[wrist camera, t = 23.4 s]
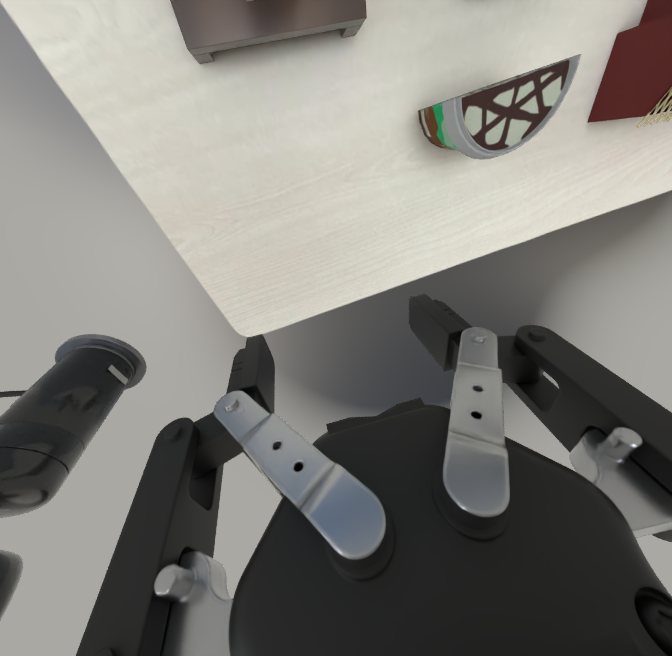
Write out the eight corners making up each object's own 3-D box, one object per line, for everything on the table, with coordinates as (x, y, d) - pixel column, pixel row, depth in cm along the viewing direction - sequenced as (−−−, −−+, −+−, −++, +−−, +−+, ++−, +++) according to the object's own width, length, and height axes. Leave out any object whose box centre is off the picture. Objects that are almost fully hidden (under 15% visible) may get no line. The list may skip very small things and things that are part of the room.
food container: (411, 172, 34) (454, 177, 26) (406, 114, 30) (454, 98, 22) (497, 141, 34) (567, 136, 25) (502, 80, 30) (586, 51, 22)
